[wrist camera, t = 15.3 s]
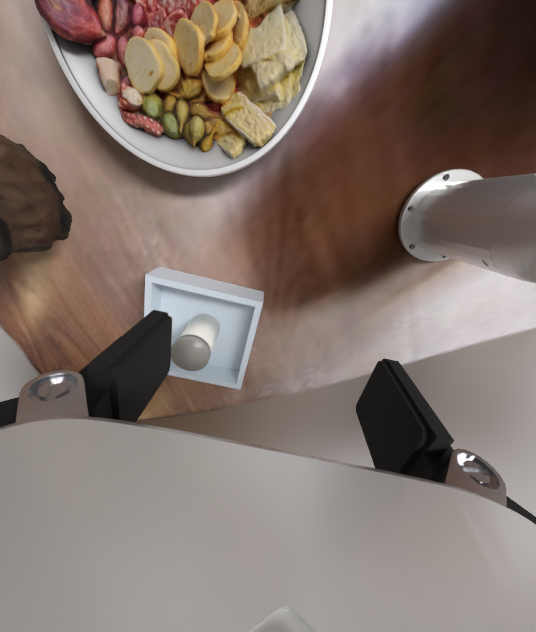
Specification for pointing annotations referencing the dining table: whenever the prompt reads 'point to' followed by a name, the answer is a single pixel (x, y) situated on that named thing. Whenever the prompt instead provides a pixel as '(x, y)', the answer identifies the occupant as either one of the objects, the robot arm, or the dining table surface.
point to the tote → (218, 301)
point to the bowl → (191, 73)
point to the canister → (195, 343)
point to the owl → (28, 203)
